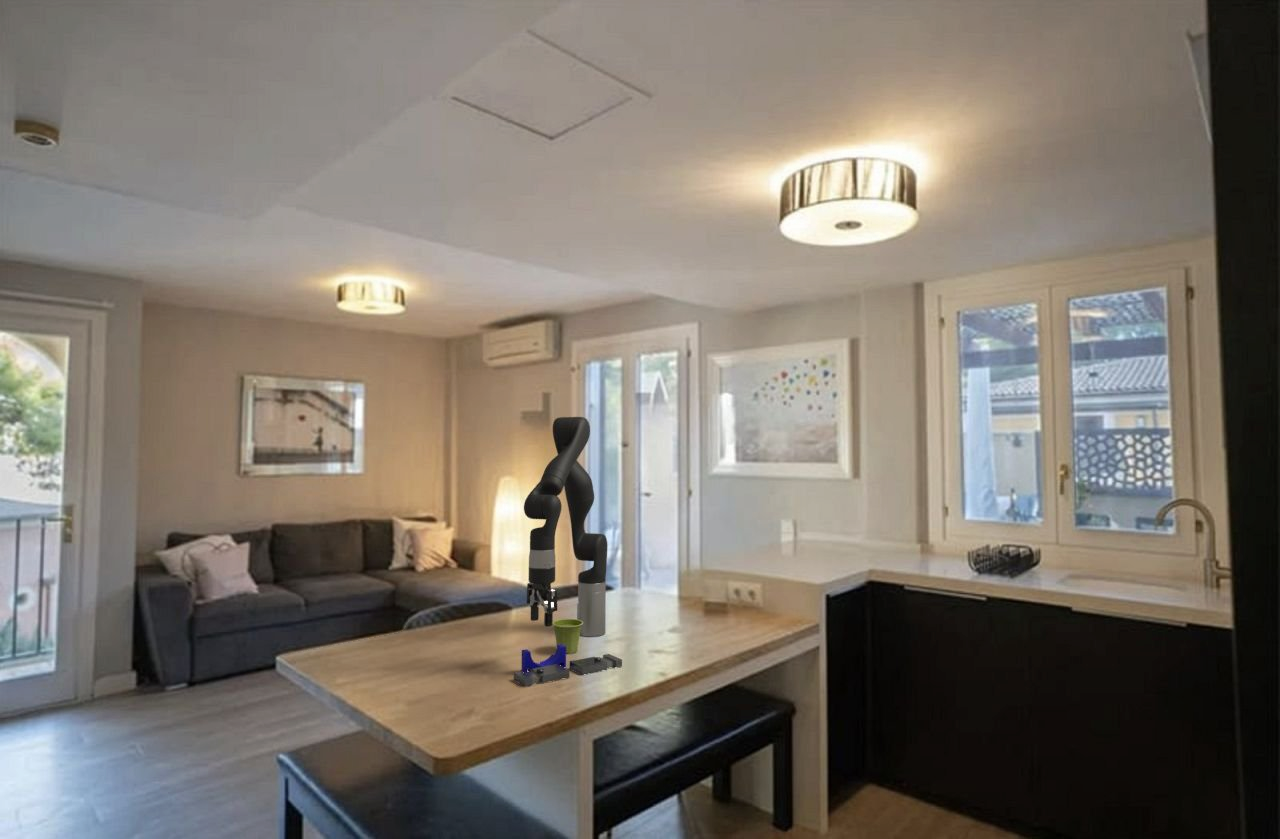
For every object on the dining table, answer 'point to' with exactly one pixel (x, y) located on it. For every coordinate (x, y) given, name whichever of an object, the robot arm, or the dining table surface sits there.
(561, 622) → the plant pot
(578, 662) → the grey slotted plastic plates
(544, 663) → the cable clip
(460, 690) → the dining table surface
